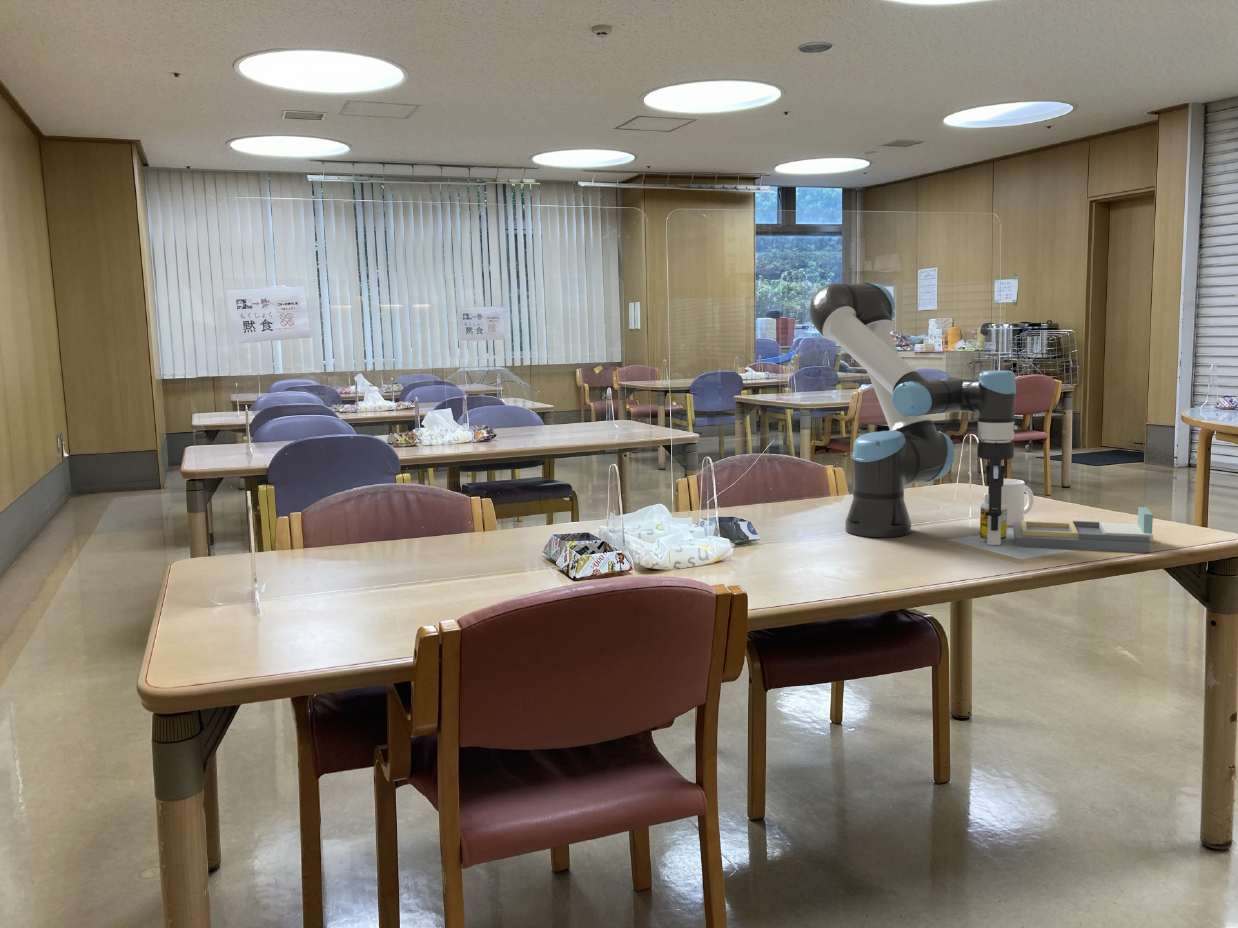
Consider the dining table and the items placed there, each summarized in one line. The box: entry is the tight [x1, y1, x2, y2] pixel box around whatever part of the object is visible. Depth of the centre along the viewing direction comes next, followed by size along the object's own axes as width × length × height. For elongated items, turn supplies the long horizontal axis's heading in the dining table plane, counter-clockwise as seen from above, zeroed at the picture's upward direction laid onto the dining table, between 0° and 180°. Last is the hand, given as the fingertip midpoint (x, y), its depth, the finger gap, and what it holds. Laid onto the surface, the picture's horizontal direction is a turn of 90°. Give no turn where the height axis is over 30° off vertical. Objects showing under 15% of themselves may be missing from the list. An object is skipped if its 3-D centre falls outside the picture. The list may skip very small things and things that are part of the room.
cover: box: [1098, 506, 1154, 541], centre depth 206 cm, size 9×11×5 cm
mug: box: [1001, 478, 1035, 527], centre depth 230 cm, size 12×8×10 cm
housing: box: [1012, 520, 1151, 553], centre depth 209 cm, size 26×16×3 cm, turn 69°
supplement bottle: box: [979, 494, 1008, 543], centre depth 212 cm, size 6×6×10 cm
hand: (993, 539), depth 213 cm, fingers open, 9 cm apart
